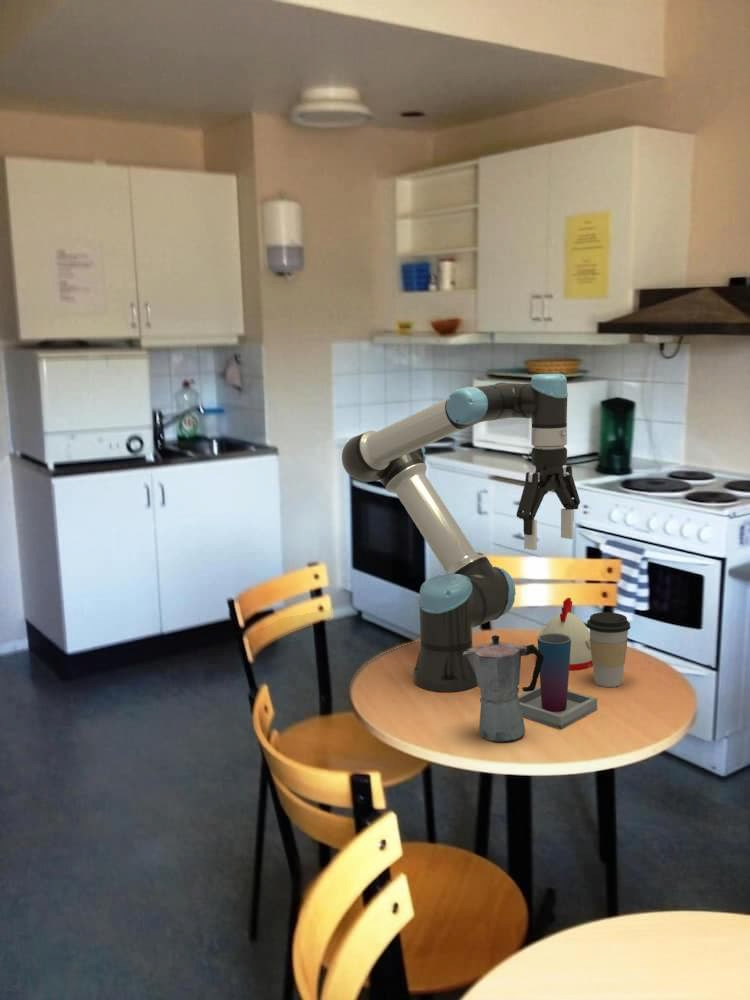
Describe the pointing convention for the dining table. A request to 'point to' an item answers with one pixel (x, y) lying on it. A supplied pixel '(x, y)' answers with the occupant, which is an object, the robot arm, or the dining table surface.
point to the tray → (574, 711)
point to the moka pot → (501, 687)
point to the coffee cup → (608, 647)
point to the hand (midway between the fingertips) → (549, 543)
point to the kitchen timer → (572, 636)
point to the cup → (554, 670)
